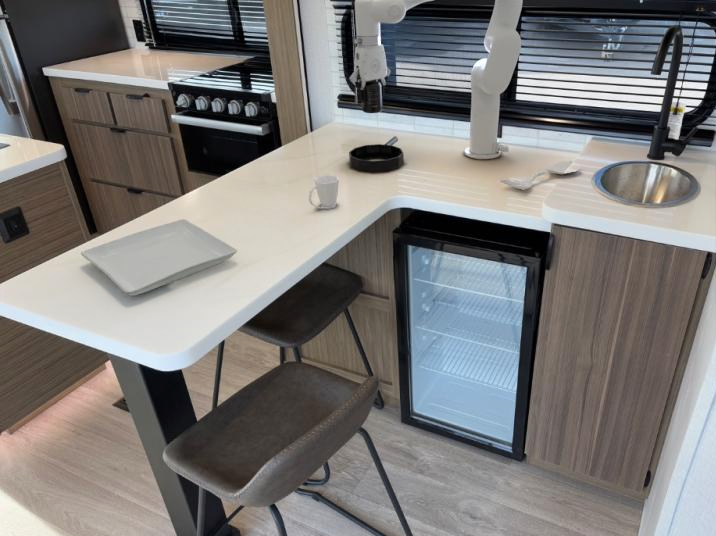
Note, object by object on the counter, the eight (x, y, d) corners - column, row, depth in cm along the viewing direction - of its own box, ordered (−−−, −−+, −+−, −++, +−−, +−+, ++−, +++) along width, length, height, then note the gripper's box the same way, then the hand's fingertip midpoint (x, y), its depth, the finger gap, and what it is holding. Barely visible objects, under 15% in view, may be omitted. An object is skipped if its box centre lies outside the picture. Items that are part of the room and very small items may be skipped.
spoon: (498, 189, 184) (499, 178, 182) (563, 165, 201) (564, 155, 199) (521, 197, 178) (522, 186, 176) (586, 172, 195) (587, 162, 193)
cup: (345, 205, 175) (343, 179, 170) (318, 215, 169) (315, 188, 164) (330, 199, 179) (328, 173, 175) (303, 209, 173) (300, 182, 169)
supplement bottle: (359, 109, 201) (357, 71, 195) (379, 107, 203) (377, 70, 196) (365, 114, 195) (363, 75, 189) (385, 112, 197) (383, 73, 191)
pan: (418, 150, 218) (418, 138, 216) (391, 175, 196) (391, 162, 194) (373, 145, 223) (372, 134, 221) (341, 169, 201) (340, 157, 199)
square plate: (82, 265, 146) (78, 250, 144) (187, 230, 162) (184, 216, 160) (130, 306, 129) (125, 290, 127) (241, 262, 145) (238, 248, 143)
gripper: (353, 46, 181) (357, 106, 190) (397, 39, 190) (399, 96, 199) (339, 43, 186) (343, 102, 195) (382, 36, 195) (384, 93, 204)
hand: (371, 99), depth 197 cm, fingers closed on supplement bottle, 6 cm apart
